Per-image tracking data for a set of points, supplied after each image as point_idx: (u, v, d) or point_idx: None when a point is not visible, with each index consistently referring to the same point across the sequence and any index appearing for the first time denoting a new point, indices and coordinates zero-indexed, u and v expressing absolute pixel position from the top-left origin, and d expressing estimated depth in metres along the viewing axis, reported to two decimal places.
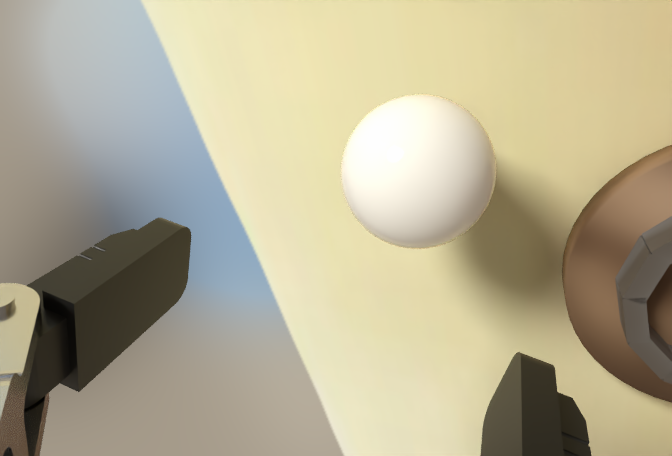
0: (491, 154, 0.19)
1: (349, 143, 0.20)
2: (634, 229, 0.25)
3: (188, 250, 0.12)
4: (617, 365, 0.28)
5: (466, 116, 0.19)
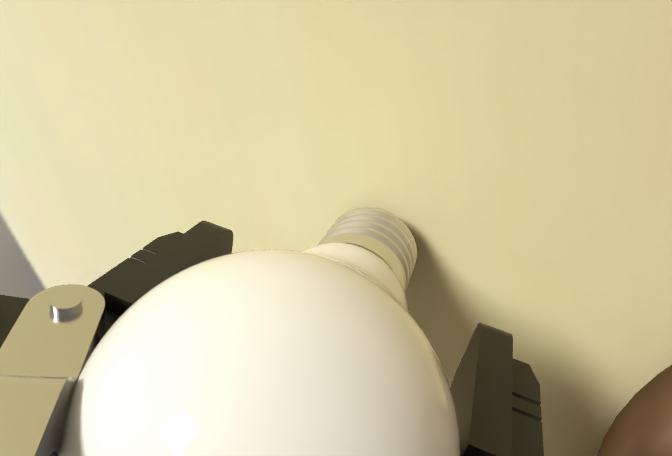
0: (441, 455, 0.07)
1: None
2: None
3: (230, 252, 0.12)
4: None
5: (367, 354, 0.07)
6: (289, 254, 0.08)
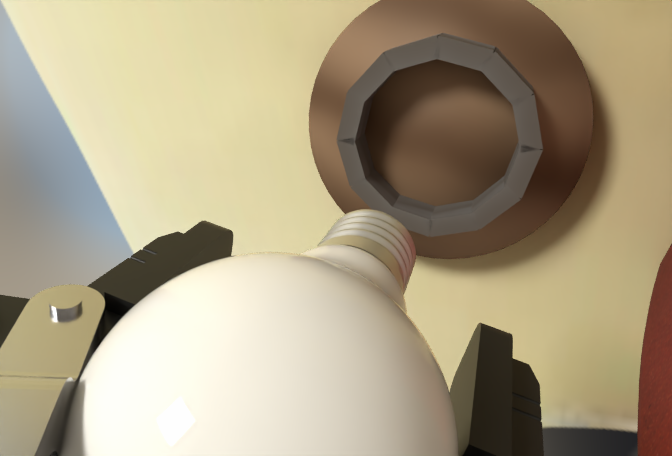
0: None
1: None
2: (351, 80, 0.27)
3: (230, 252, 0.12)
4: None
5: (366, 357, 0.07)
6: (288, 257, 0.08)
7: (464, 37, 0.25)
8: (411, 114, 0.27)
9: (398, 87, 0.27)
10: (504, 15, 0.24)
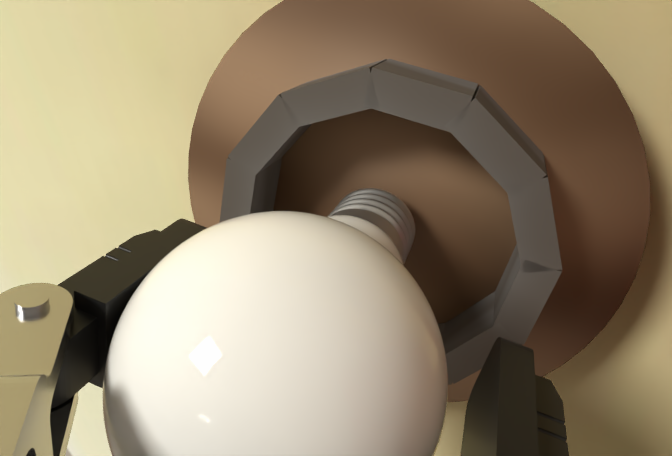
0: (429, 375, 0.08)
1: None
2: (246, 132, 0.17)
3: None
4: None
5: (367, 287, 0.08)
6: (301, 213, 0.09)
7: (424, 67, 0.14)
8: (343, 188, 0.16)
9: (320, 146, 0.16)
10: (492, 29, 0.13)
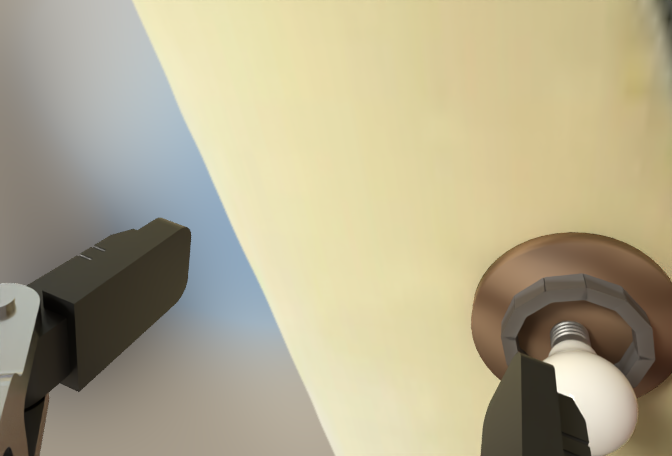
0: (637, 404, 0.30)
1: None
2: (509, 292, 0.39)
3: (188, 250, 0.12)
4: None
5: (622, 381, 0.30)
6: (589, 354, 0.31)
7: (598, 278, 0.36)
8: (553, 317, 0.38)
9: None
10: (629, 269, 0.35)
